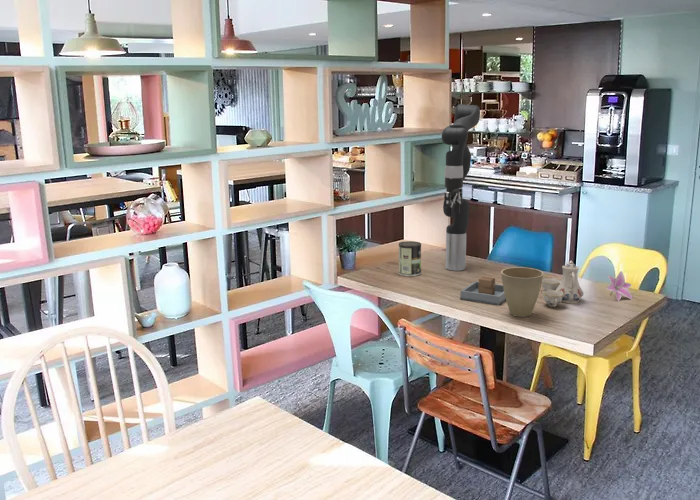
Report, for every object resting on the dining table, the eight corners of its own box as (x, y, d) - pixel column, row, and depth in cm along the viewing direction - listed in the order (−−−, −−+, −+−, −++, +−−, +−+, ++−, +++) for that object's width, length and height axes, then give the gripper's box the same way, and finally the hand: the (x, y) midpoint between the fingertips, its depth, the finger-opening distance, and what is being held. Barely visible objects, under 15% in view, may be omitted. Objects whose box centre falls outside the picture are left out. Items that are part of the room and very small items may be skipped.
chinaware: (535, 292, 276) (533, 254, 273) (577, 290, 273) (575, 251, 270) (544, 314, 249) (542, 271, 246) (590, 311, 246) (589, 268, 243)
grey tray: (474, 289, 276) (474, 281, 275) (512, 294, 268) (512, 286, 267) (460, 299, 263) (460, 290, 262) (499, 305, 255) (499, 296, 254)
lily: (599, 302, 260) (611, 285, 254) (595, 283, 269) (607, 266, 263) (628, 311, 260) (641, 294, 255) (623, 292, 270) (635, 275, 264)
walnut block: (482, 292, 269) (483, 276, 267) (494, 294, 266) (495, 277, 264) (478, 295, 264) (478, 278, 263) (490, 297, 262) (490, 280, 260)
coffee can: (420, 270, 307) (420, 240, 304) (421, 276, 297) (422, 245, 294) (397, 270, 307) (397, 241, 304) (399, 276, 297) (399, 246, 294)
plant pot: (503, 305, 254) (505, 265, 251) (543, 310, 249) (545, 269, 245) (496, 317, 241) (497, 275, 237) (538, 322, 235) (540, 279, 232)
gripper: (452, 174, 283) (451, 211, 287) (438, 177, 271) (438, 216, 275) (468, 174, 279) (467, 212, 283) (455, 178, 267) (455, 218, 271)
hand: (453, 214), depth 279 cm, fingers open, 8 cm apart
